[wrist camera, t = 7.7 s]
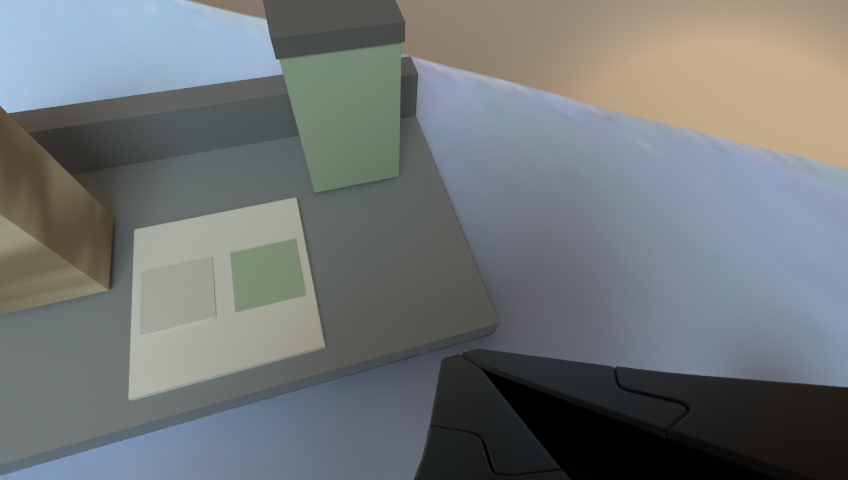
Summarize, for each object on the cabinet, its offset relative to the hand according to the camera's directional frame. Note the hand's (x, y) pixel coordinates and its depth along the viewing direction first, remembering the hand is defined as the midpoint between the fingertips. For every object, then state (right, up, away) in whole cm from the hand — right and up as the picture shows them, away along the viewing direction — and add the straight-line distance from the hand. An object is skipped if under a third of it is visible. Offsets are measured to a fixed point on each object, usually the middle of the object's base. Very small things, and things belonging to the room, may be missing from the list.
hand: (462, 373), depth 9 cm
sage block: (-5, +7, +14) cm, 17 cm away
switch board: (-11, +2, +13) cm, 17 cm away
